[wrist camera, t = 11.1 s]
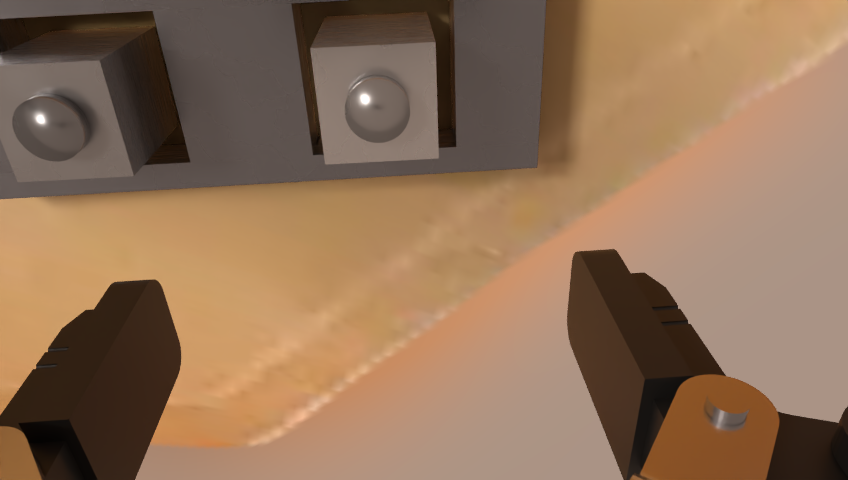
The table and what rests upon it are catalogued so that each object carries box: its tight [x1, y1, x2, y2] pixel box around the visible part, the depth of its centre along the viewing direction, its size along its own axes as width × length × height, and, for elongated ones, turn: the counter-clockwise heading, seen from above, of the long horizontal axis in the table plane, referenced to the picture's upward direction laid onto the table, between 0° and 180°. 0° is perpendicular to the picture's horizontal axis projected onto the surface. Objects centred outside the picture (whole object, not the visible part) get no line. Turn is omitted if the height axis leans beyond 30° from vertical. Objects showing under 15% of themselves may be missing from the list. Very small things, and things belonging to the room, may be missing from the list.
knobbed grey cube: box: [0, 26, 178, 182], centre depth 25 cm, size 4×4×7 cm
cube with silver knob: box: [310, 12, 439, 165], centre depth 26 cm, size 4×4×7 cm
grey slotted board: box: [0, 0, 546, 199], centre depth 27 cm, size 9×26×2 cm, turn 92°
